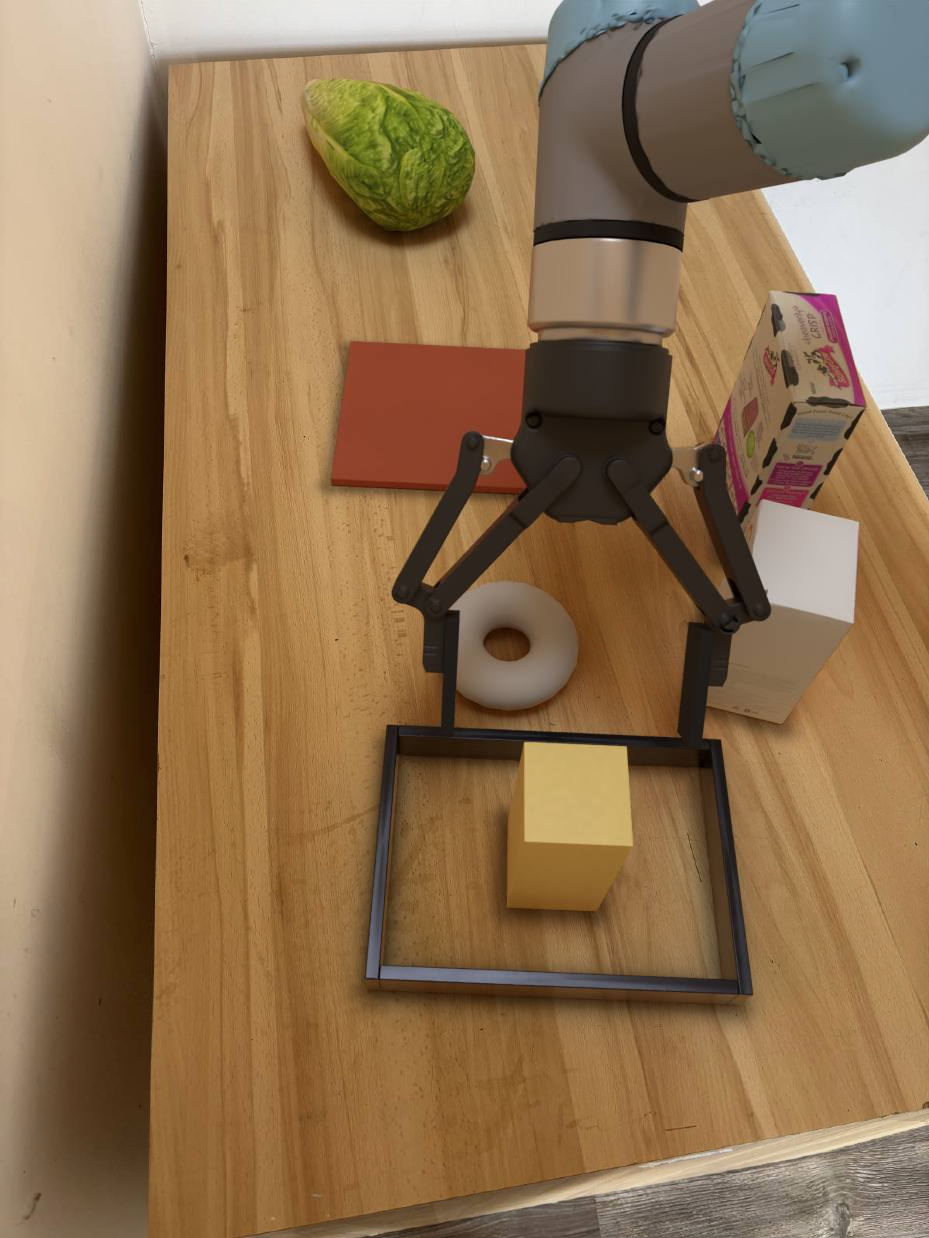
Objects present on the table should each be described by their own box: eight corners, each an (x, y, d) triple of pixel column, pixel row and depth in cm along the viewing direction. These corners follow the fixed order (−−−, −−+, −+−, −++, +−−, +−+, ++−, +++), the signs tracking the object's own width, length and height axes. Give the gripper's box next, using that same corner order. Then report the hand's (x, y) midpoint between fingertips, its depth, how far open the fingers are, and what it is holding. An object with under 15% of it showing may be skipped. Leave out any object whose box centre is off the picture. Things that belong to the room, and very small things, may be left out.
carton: (593, 824, 60) (626, 745, 50) (596, 911, 57) (633, 846, 47) (507, 821, 60) (524, 741, 50) (506, 907, 57) (524, 841, 47)
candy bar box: (785, 563, 72) (871, 408, 58) (720, 559, 72) (791, 403, 58) (765, 454, 78) (839, 290, 64) (705, 451, 78) (766, 286, 64)
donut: (434, 719, 64) (581, 719, 64) (434, 695, 61) (587, 696, 61) (436, 597, 69) (571, 598, 69) (435, 570, 66) (576, 571, 66)
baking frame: (709, 757, 63) (721, 738, 60) (738, 1005, 54) (753, 995, 52) (387, 743, 62) (386, 723, 60) (367, 989, 54) (364, 978, 51)
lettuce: (378, 55, 100) (284, 1, 91) (515, 153, 88) (423, 102, 79) (332, 163, 106) (238, 123, 96) (455, 269, 94) (361, 235, 85)
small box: (782, 726, 64) (856, 626, 53) (691, 703, 65) (745, 599, 54) (792, 631, 68) (862, 519, 57) (706, 610, 69) (758, 495, 58)
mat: (575, 358, 83) (576, 351, 82) (582, 497, 74) (583, 490, 74) (351, 347, 83) (350, 340, 82) (331, 485, 74) (330, 478, 74)
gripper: (814, 358, 52) (768, 722, 56) (363, 334, 51) (354, 702, 56) (872, 349, 44) (813, 769, 49) (346, 321, 44) (337, 746, 49)
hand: (568, 734), depth 52 cm, fingers open, 13 cm apart
